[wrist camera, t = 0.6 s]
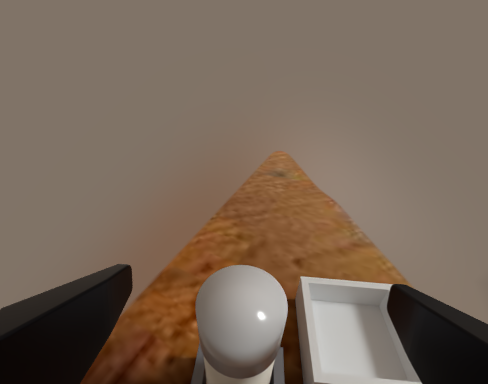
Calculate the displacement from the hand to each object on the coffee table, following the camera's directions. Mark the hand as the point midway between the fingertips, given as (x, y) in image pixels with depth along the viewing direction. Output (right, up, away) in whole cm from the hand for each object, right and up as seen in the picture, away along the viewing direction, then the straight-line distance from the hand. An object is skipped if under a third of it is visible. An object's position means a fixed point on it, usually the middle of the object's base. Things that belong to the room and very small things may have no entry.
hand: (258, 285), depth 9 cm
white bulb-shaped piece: (-1, -12, +9) cm, 15 cm away
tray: (+8, -10, +13) cm, 18 cm away
